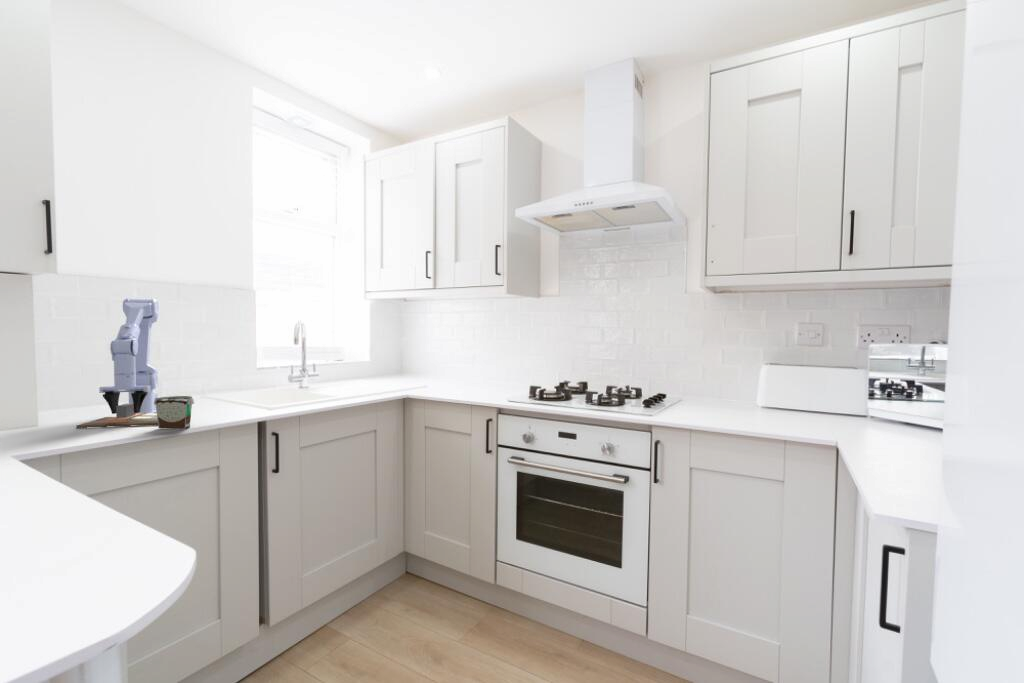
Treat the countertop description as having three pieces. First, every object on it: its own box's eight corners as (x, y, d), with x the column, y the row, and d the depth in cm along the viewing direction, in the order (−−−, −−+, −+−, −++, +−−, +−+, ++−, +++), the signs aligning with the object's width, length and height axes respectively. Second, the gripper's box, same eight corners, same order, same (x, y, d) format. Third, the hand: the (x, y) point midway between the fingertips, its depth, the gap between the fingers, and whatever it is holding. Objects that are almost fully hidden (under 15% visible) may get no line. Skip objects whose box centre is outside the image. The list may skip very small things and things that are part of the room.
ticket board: (105, 419, 164) (105, 413, 164) (183, 417, 169) (183, 411, 169) (76, 428, 150) (76, 421, 150) (162, 425, 155) (162, 418, 155)
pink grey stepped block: (126, 417, 163) (125, 402, 163) (144, 416, 164) (143, 402, 164) (107, 422, 154) (106, 407, 153) (126, 422, 155) (125, 406, 154)
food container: (204, 425, 155) (203, 396, 154) (189, 429, 149) (188, 398, 148) (170, 424, 156) (169, 395, 156) (154, 428, 150) (153, 398, 150)
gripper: (92, 375, 153) (93, 415, 154) (141, 374, 156) (142, 414, 156) (106, 373, 160) (107, 412, 161) (153, 372, 163) (154, 410, 163)
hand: (126, 413), depth 159 cm, fingers open, 6 cm apart
